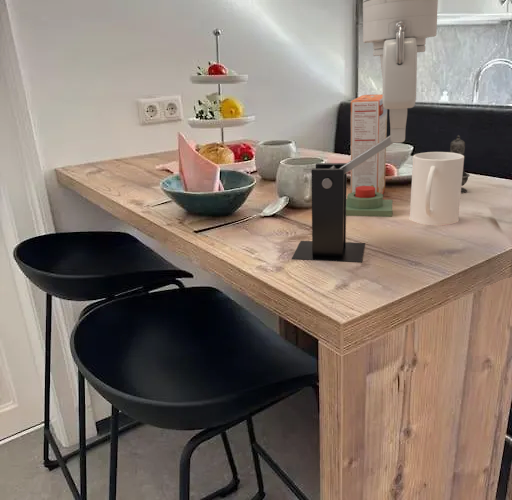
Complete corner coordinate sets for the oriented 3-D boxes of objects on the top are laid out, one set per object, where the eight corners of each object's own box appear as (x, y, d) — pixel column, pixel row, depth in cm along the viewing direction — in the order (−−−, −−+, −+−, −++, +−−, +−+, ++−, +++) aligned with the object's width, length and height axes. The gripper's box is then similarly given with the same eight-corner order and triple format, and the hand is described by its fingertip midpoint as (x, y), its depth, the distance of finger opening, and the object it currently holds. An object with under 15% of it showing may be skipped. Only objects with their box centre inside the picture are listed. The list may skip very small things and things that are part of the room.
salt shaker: (441, 187, 113) (445, 133, 109) (469, 188, 110) (474, 133, 106) (437, 193, 108) (442, 136, 104) (467, 194, 106) (472, 137, 101)
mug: (446, 240, 80) (453, 165, 76) (394, 232, 84) (398, 162, 80) (464, 220, 89) (471, 152, 85) (416, 215, 93) (420, 150, 89)
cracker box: (358, 190, 114) (360, 94, 107) (385, 191, 112) (389, 93, 105) (348, 206, 101) (349, 99, 94) (378, 207, 99) (382, 98, 92)
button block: (391, 210, 97) (392, 190, 96) (391, 222, 90) (392, 201, 88) (340, 209, 100) (340, 189, 98) (335, 221, 92) (336, 200, 91)
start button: (375, 194, 95) (375, 185, 94) (374, 199, 91) (374, 190, 91) (355, 194, 96) (356, 185, 95) (354, 199, 92) (354, 190, 92)
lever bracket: (364, 250, 77) (367, 161, 73) (361, 269, 70) (364, 172, 65) (300, 247, 80) (299, 161, 75) (291, 266, 73) (289, 172, 68)
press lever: (408, 136, 69) (398, 121, 68) (409, 141, 64) (399, 125, 64) (327, 187, 74) (319, 173, 73) (323, 195, 69) (314, 181, 69)
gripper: (432, 16, 52) (427, 150, 56) (421, 26, 70) (418, 127, 75) (370, 22, 53) (370, 152, 58) (375, 31, 72) (375, 129, 77)
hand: (397, 138), depth 67 cm, fingers closed on press lever, 5 cm apart
